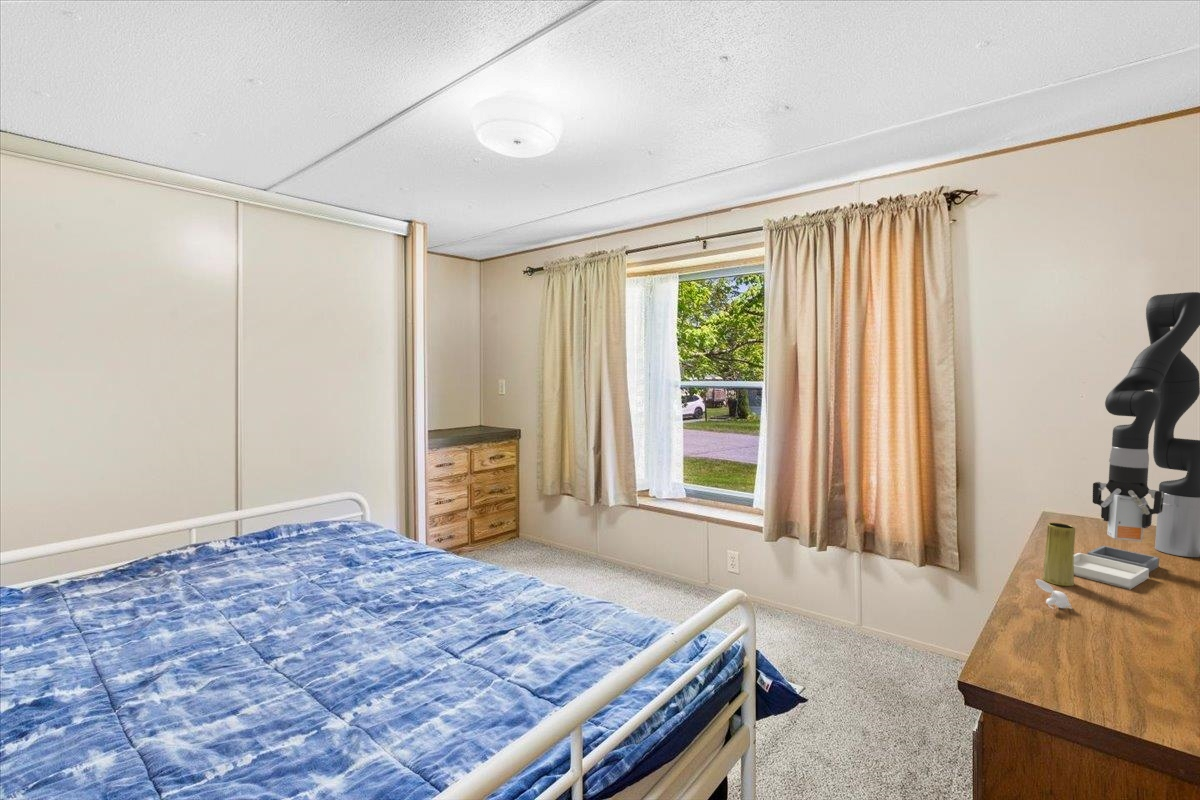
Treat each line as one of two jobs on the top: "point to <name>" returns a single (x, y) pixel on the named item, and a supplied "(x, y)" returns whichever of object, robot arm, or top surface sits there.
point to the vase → (1059, 554)
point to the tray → (1109, 571)
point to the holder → (1126, 557)
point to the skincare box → (1125, 519)
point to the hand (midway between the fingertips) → (1125, 524)
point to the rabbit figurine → (1054, 596)
